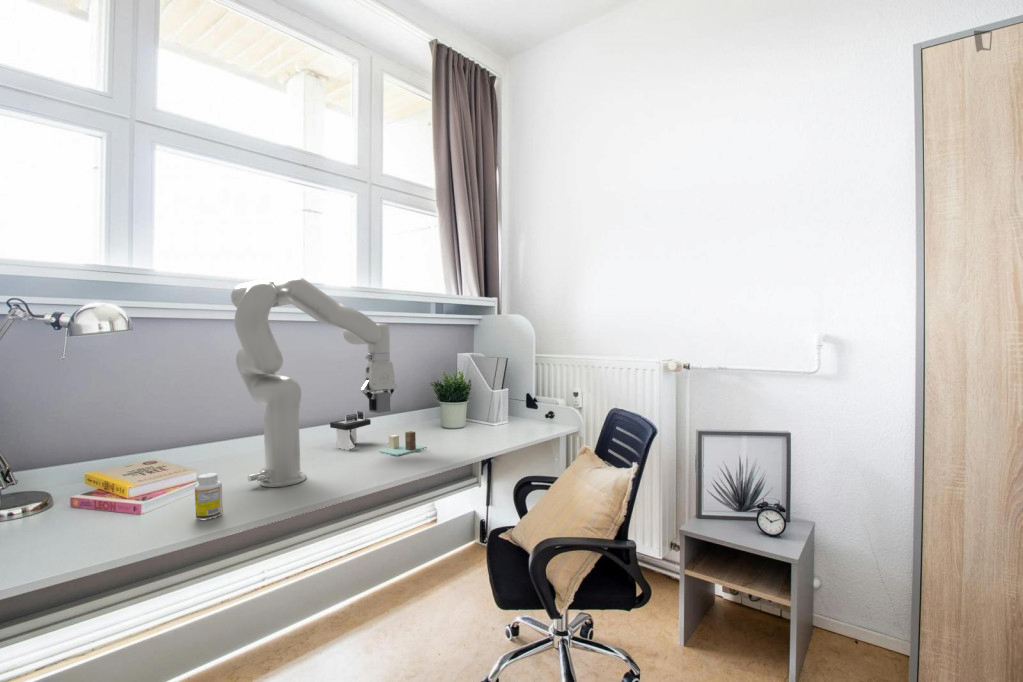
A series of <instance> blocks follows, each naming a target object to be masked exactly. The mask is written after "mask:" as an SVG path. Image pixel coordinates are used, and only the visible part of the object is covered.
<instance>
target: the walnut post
mask: <svg viewBox="0 0 1023 682" xmlns="http://www.w3.org/2000/svg"><path fill="white" fill-rule="evenodd" d="M404 432H405V431H404ZM404 437H405V440H404V441H405V443H404V444H406V450H410V451H411V450H415V449H416V445H417V444H416V443H417V442H416V441H417V440H416V431H406V432H405V433H404Z"/></svg>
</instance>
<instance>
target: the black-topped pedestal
mask: <svg viewBox="0 0 1023 682" xmlns="http://www.w3.org/2000/svg"><path fill="white" fill-rule="evenodd" d="M365 413H366V412H365V411H358V410H355V413H354V414H347V415H344V419H342V420H337V421H331V422H330V423H329V427H330V428H332V429H335V430H336V449H339V448H341V450H344V449H345V450H344V451H350V449H351V450H353V449H355V446H356V444H355V443H357V441H358V440H357V437H358V436H357V429H358V428H362V427H366V426H369V425H371V418H370V419H369V418H366V416H365ZM352 448H353V449H352Z"/></svg>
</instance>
